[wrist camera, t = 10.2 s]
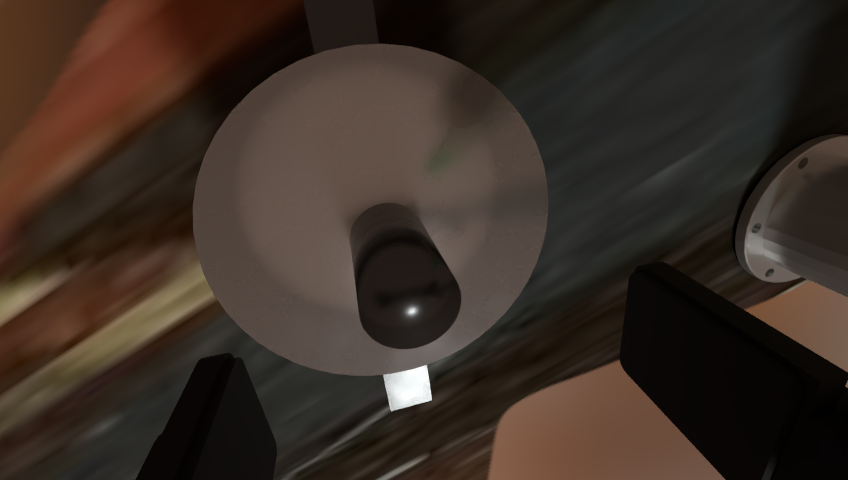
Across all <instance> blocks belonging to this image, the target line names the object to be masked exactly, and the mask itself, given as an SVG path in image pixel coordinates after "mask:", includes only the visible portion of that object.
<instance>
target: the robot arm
mask: <svg viewBox="0 0 848 480" xmlns="http://www.w3.org/2000/svg"><path fill="white" fill-rule="evenodd" d="M735 248H736V255H737V258H738V261H739V263H740V264H741V266H742V267H743V268H744V270H746V271H747V272H748V273H750V274H751V275H753V276H755V277H757V278H759V279H761V280H764V281H769V282H786V281H790V280H793V279H797V278H800V277H804V278H806V279H808V280H810V281H813V282H815V283H817V284H819V285H821V286H824V287H826V288H828V289H830V290H833V291H835V292H837V293H840V294H842V295H844V296H846V297H848V135H840V134H830V135H825V136H820V137H817V138H815V139H812V140H810V141H807V142H805V143H803V144H802V145H800V146H798V147H797V148H795V149H793V150H792V151H790V152H789V153H788V154H787V155H785V156H784V157H783V158H781V159H780V160H779V161H778V162H777V163H776V164H775V165H774V166H773V167H772V168H771V169H770V170H769V171H768V172H767V173H766V174H765V175H764V176H763V178H762V179H761V180H760V182H759V183H758V184H757V185H756V187H755V188H754V190H753V192H752V193H751V195H750V196H749V198H748V200H747V201H746V204H745V206H744V208H743V210H742V213H741V215H740V218H739V221H738V225H737V228H736V236H735ZM620 363H621V365H622V367H623V369H624V371H625V372H626V373H627V374H628V375H629V376H630V377H631V379H633V381H634V382H635V383H636V384H637V385H638V386H639V387H640V388H641V389H642V390H643V391H644V392H645V394H646V395H647V396H648V397H649V398H650V399H651V400H652V401H653V402H654V403H655V404H656V405H657V406H658V408H659V409H660V410H661V411H662V412H663V413H664V414H665V415H666V416H667V417H668V418H669V419H670V420H671V422H672V423H673V424H674V425H675V426H676V427H677V428H678V429H679V430H680V431H681V432H682V433H683V434H684V435H685V437H686V438H687V439H688V440H689V441H690V442H691V443H692V444H693V445H694V446H695V447H696V448H697V449H698V450H699V452H700V453H701V454H702V455H703V456H704V457H705V458H706V459H707V460H708V461H709V462H710V463H711V465H713V467H714V468H715V469H716V470H717V471H718V472H719V473H720V474H721V475H722V476H723V477H724V478H725V479H726V480H848V388H846V387H845V385H846V383H847V380H848V372H846V371H844V370H843V369H841V368H839V367H838V366H836V365H834V364H833V363H831V362H829V361H828V360H826V359H824V358H823V357H821V356H819V355H818V354H816V353H814V352H813V351H811V350H809V349H808V348H806V347H804V346H803V345H801V344H799V343H798V342H796V341H794V340H793V339H791V338H789V337H788V336H786V335H784V334H783V333H781V332H779V331H778V330H776V329H775V328H773V327H771V326H770V325H768V324H766V323H765V322H763V321H761V320H760V319H758V318H756V317H755V316H753V315H751V314H750V313H748V312H746V311H745V310H743V309H741V308H740V307H738V306H736V305H735V304H733V303H731V302H730V301H728V300H726V299H725V298H723V297H721V296H720V295H718V294H716V293H715V292H713V291H712V290H710V289H708V288H707V287H705V286H703V285H702V284H700V283H698V282H697V281H695V280H693V279H692V278H690V277H688V276H687V275H685V274H683V273H682V272H680V271H678V270H677V269H675V268H673V267H672V266H670V265H668V264H667V263H664V262H655V263H651V264H646V265H641V266H638V267H636V269H635V270H634V273H633V274H631V275H630V278H629V283H628V292H627V300H626V308H625V316H624V325H623V333H622V341H621V349H620ZM276 456H277V448H276V442H275V439H274V436H273V434H272V431H271V429H270V426H269V424H268V421H267V419H266V416H265V414H264V411H263V409H262V407H261V404H260V402H259V399H258V397H257V394H256V392H255V389H254V387H253V384H252V382H251V379H250V377H249V374H248V372H247V370H246V367H245V365H244V362H243V360H242V359H241V358H239V357H238V358H234V357H233V355H232V354H230V353H225V354H220V355H215V356H210V357H206V358H202V359H200V360H199V361H198V363H197V364H196V366H195V368H194V370H193V372H192V374H191V376H190V378H189V380H188V382H187V384H186V386H185V388H184V390H183V393H182V395H181V397H180V399H179V401H178V403H177V405H176V407H175V409H174V411H173V413H172V415H171V417H170V419H169V421H168V423H167V425H166V427H165V429H164V431H163V433H162V434H161V435H159V436H158V438H157V439H156V441H155V442H154V444H153V446H152V448H151V450H150V452H149V454H148V456H147V458H146V460H145V462H144V464H143V466H142V468H141V470H140V472H139V474H138V476H137V478H136V480H273V475H274V469H275V463H276Z"/></svg>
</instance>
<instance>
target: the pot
mask: <svg viewBox="0 0 848 480" xmlns="http://www.w3.org/2000/svg"><path fill="white" fill-rule="evenodd" d="M303 2H304V7H305V12H306V16H307V21H308V26H309V30H310V35H311V40H312V44H313V49H314V54H318V53H321V52H324V51H326V50H331V49H336V48H341V47H347V46H352V45H364V44H379V39H378V32H377V25H376V18H375V12H374V5H373V0H303ZM383 376H384V381H385V386H386V390H387V395H388V400H389V404H390V409H391V411H393V410H397V409H401V408H405V407H408V406H412V405H416V404H420V403H423V402H427V401H431V400H432V397H431V390H430V383H429V377H428V370H427V365H425V366H421V367H418V368H415V369H412V370H407V371H402V372H397V373H392V374H383Z"/></svg>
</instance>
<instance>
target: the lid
mask: <svg viewBox="0 0 848 480" xmlns="http://www.w3.org/2000/svg"><path fill="white" fill-rule="evenodd" d="M547 216H548V188H547V181H546V175H545V170H544V165H543V162H542V159H541V156H540V153H539V150H538V146H537V144H536V142H535V140H534V138H533V136H532V134H531V132H530V130H529V128H528V126H527V124H526V123H525V121H524V120H523V119H522V117H521V116H520V114H519V113H518V111H517V110H516V108H515V107H514V106H513V105H512V104H511V103H510V102H509V100H508V99H507V98H506V97H505V96H504V95H503V94H502V93H501V92H500V91H499V90H498V89H497V88H496V87H494V86H493V85H492V84H491V83H490V82H488V81H487V80H486V79H485V78H483V77H482V76H481V75H479V74H478V73H476V72H474V71H473V70H471V69H469V68H468V67H466V66H464V65H463V64H461V63H459V62H457V61H454V60H452V59H449V58H447V57H445V56H442V55H440V54H437V53H435V52H431V51H427V50H422V49H418V48H414V47H410V46H402V45H391V44H364V45H352V46H347V47H341V48H336V49H331V50H326V51H324V52H321V53H318V54H315V55H312V56H310V57H307V58H304V59H301V60H299V61H297V62H295V63H293V64H291V65H289V66H288V67H286V68H284V69H282V70H280V71H278V72H276V73H274V74H273V75H272V76H270V77H269V78H268V79H266V80H265V81H264V82H262V83H261V84H260V85H258V86H257V87H256V88H254V89H253V90H252V91H251V92H250V93H249V94H248V95H247V96H246V97H245V98H244V99H243V100H242V101H241V102H240V103H239V104H238V105H237V106H236V107H235V108H234V109H233V110H232V111H231V113H230V114H229V116H228V117H227V118H226V120H225V121H224V123H223V124H222V125H221V127H220V128H219V130H218V131H217V132H216V134H215V136H214V138H213V140H212V142H211V144H210V146H209V148H208V150H207V152H206V154H205V156H204V159H203V162H202V165H201V169H200V172H199V175H198V178H197V182H196V188H195V195H194V202H193V232H194V238H195V244H196V250H197V255H198V258H199V261H200V264H201V267H202V270H203V273H204V275H205V277H206V279H207V281H208V283H209V285H210V287H211V289H212V291H213V293H214V295H215V297H216V298H217V300H218V301H219V302H220V304H221V305H222V307H223V308H224V310H225V311H226V312H227V314H228V315H229V316H230V317H231V318H232V319H233V320H234V321H235V322H236V323H237V324H238V325H239V327H240V328H241V329H242V330H244V331H245V332H246V333H247V334H248V335H250V336H251V337H252V338H253V339H254V340H256V341H257V342H258V343H260V344H261V345H263V346H264V347H266V348H268V349H269V350H271V351H272V352H274V353H276V354H278V355H280V356H282V357H284V358H286V359H288V360H290V361H292V362H294V363H297V364H300V365H303V366H306V367H309V368H312V369H316V370H320V371H325V372H330V373H335V374H344V375H371V376H372V375H383V374H392V373H397V372H402V371H407V370H412V369H415V368H418V367H421V366H425V365H428V364H431V363H433V362H435V361H438V360H440V359H442V358H445V357H447V356H449V355H451V354H453V353H454V352H456V351H458V350H460V349H462V348H464V347H465V346H467V345H468V344H470V343H471V342H472V341H474V340H475V339H477V338H478V337H480V336H481V335H482V334H483V333H484V332H486V331H487V330H488V329H489V328H490V327H492V326H493V325H494V324H495V323H496V322H497V321H498V320H499V319H500V318H501V317H502V316H503V315H504V314H505V313H506V311H507V310H508V309H509V308H510V306H511V305H512V304H513V303H514V301H515V300H516V299H517V297H518V296H519V294H520V293H521V291H522V290H523V288H524V286H525V285H526V283H527V282H528V280H529V278H530V276H531V274H532V271H533V269H534V267H535V265H536V263H537V260H538V257H539V254H540V251H541V248H542V245H543V241H544V236H545V231H546V227H547Z"/></svg>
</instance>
